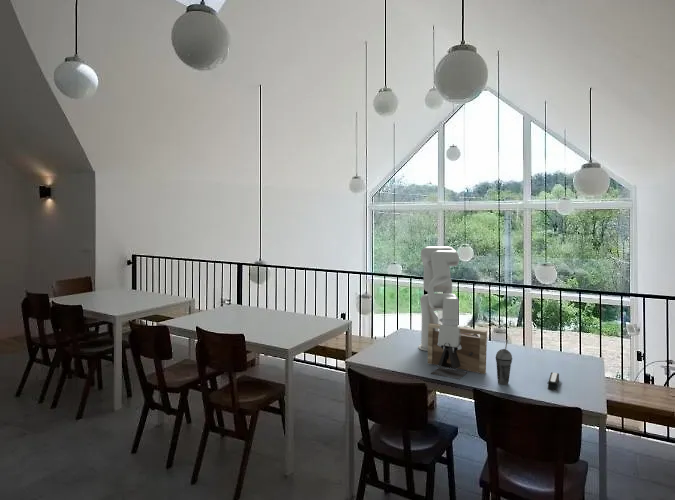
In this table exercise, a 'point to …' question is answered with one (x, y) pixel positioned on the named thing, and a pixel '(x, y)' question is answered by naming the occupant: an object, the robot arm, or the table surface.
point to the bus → (553, 381)
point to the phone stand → (453, 358)
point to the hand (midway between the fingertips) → (449, 359)
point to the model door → (459, 352)
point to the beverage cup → (503, 365)
